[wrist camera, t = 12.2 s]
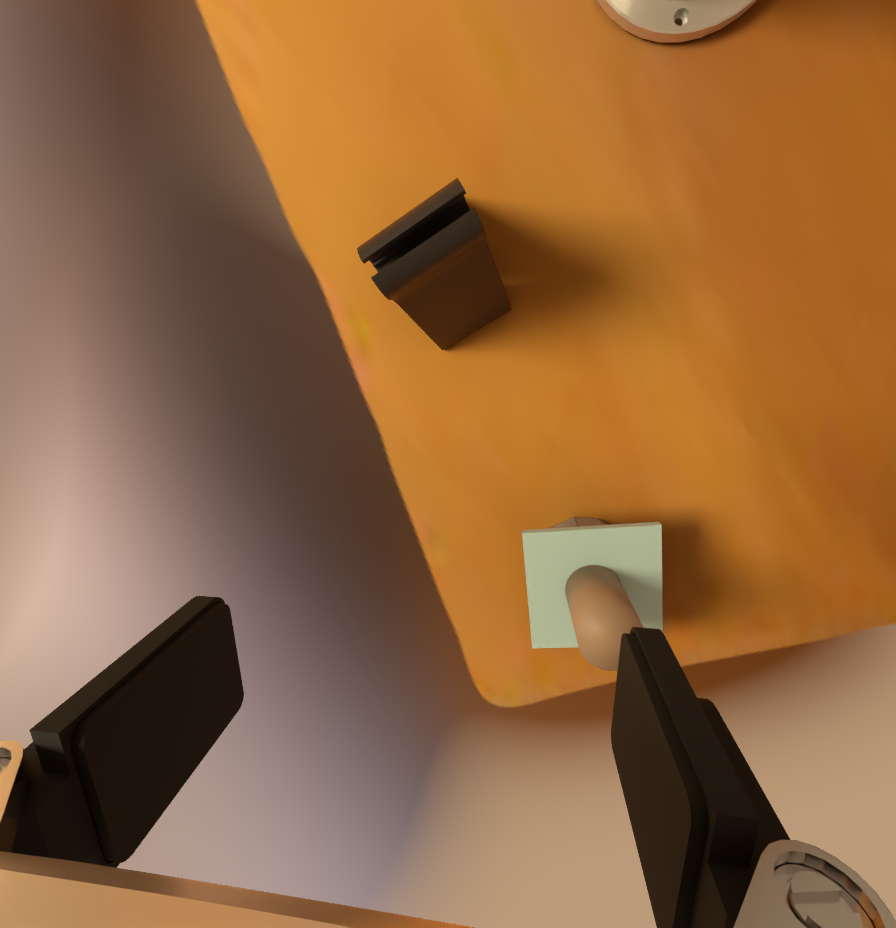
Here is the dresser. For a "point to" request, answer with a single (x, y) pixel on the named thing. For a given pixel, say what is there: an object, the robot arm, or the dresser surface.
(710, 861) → the robot arm
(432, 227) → the phone stand
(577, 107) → the dresser surface
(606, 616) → the lid
